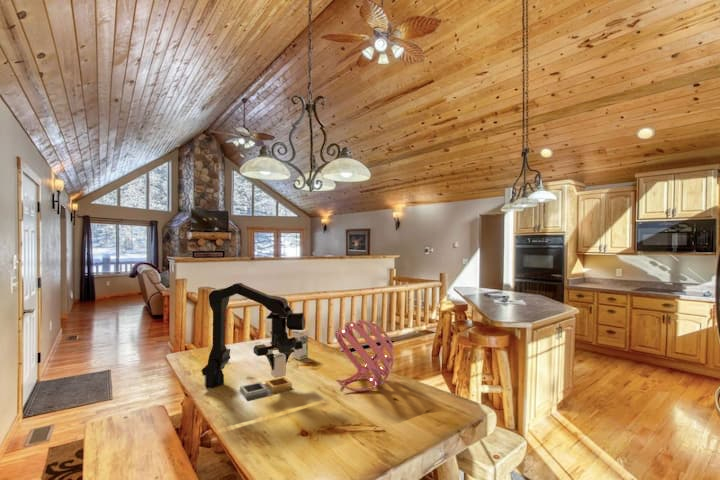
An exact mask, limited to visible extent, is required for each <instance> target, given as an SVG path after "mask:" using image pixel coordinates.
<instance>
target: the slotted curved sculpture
mask: <svg viewBox="0 0 720 480" xmlns="http://www.w3.org/2000/svg"><path fill="white" fill-rule="evenodd" d="M364 325H365V326H366V327H367V328H368V329H369V330H370V331H371V333H372V335H373V337H375V339H376V340H377V342H379V344H380V346H379V345H378V344H377V343H376V342H375V340H374V339H373V338H372V336H370V334H369V333H368V332H367V331H366V330H365V327H364ZM352 329H353V330H354V331H356V333H358V335H360V336H361V337H362V338H363V339H364V341H365V343H366V344H367V345H368V346H369V348H370V349H371V350H372V351H373V352H374V355H373V356H370V354H369V353H368V352H367V351H366V349H365V348H364V347H363V346H362V344H361V343H360V341H359V340H358V339H357V337H356V335H355V334H354V332H353V330H352ZM378 330H379V331H380V332H379V331H378ZM382 334H383V335H382ZM334 337H335V339H336V341H337V343H338V345H339V347H340V348H341V349H342V351H343V353H344V354H345V355H346V357H347V358H348V359H349V361H350V362H351V363H352V364H353V365H354V367H355V368H356V369H357V372H356V373H355V374H353V375H352V376H350V377H348V378H345V379H336V380H335V381H336V382H337V383H338V384H339V385H340V386H341V387H343V389H346V390H349V391H351V392H352V391H353V392H360V393H363V392H369V391H371V390H375V389H376V388H378V387H379V386H381V385H382V384H383V383H384V382H385V381H386V380H387V379H388V377H389V376H390V374H391V372H392V370H393V367H394V363H395V351H394V344H393V342H392V339H391V338H390V336H389V335H388V334H387V333H386V331H385V330H384V329H383V328H382V327H381V326H380V325H379V324H377V323H375V322H373V321H367V320H365V319H358V320H357V319H356V322H354V321H347V322H346V323H344V328H342V327H338V328H337V329H336V330H335V331H334ZM344 339H345V340H346V341H347V342H348V344H349V345H350V346H351V347H352V348H353V349H354V350H355V352H356V353H357V354H358V355H359V356H360V358H361V359H362V361H364V363H365V365H362V364H361V363H360V361H359V360H358V359H357V358H356V357H355V355H354V354H353V353H352V351H351V350H350V349H349V347H348V345H347V344H346V342H345V340H344ZM386 339H387V340H386ZM384 348H385V349H386V351H387V352H388V354H389V356H388V355H387V354H385V353H384V351H383V350H384ZM378 360H380V362H381V363H382V365H383V367H384V368H383V367H382V365H379V363H378ZM370 371H371V373H372V375H371V373H370ZM382 376H383V377H382ZM361 377H363V378H365V379H366V380H367V381H369V383H371V385H372V386H371V387H367V388H354V387H350V386H347V385H345V384H348V383H351V382H354V381H357V380H358V379H359V378H361Z"/></svg>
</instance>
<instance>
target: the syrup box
mask: <svg viewBox="0 0 720 480" xmlns="http://www.w3.org/2000/svg"><path fill="white" fill-rule="evenodd" d="M291 338H295V339H298V340H299V341H301V342H302V344H303V348H302V349H297V350H296V349H295V348H293V350H295V351H294V352H292V353H291V357H292V359H293V360H298V361H301V360H303V359H306V358H308V357H309V354H308V352H309V351H308V350H309V349H308V347H309V346H308V342H309V341H308V339H309V338H308V329H307V328H304V330H291Z"/></svg>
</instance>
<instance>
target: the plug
mask: <svg viewBox="0 0 720 480" xmlns="http://www.w3.org/2000/svg"><path fill="white" fill-rule="evenodd" d="M273 354H274V357H273V359H274V370H272V369H271V368H270V369H271V372H270V376H272V377H273V379H276V378H281V377H286V375H287V363H286V355H284V354H283V353H279V352H278V353H273Z"/></svg>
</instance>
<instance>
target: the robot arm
mask: <svg viewBox="0 0 720 480" xmlns="http://www.w3.org/2000/svg"><path fill="white" fill-rule="evenodd" d="M235 295H238V296H239V295H240V296H241V297H244V298H246V299H249V300H251V301H253V302H256V303H259V304H260V305H262V306H264V307H265V308H266V310H268V311H269V312H270V313H269V314H268V315H267V316H266V317H265V318H266V319H269V320H271V331H270V335H271V338H270V339H271V341H270V342H269V343H270V345H268V346H267V345H266V344H256V345H254V347H253V353H254V354H255V355H256V356H258V357H262V356H265V357H266V358H267V360H268V363H269V366H270V369H272V370H274V359H273V357H274V354H275V353H273V351H278V353H283V354H284V355H286V364H287V363H288V361H289V358H290V355H292V352H294V351H295V350H293V348H295V349H296V350H297V349H302V348H303V344H302V342H301V341H299V340H298V339H295V338H292V337H290V338H289V336H288V332H287V329H288V330H289V331H292V330H304V329H306V328H305V327H306V317H305V313H304V312H293V310H292V309H291V307H290V306H289V303H288V300H287V299H286V298H285V297H283V296H282V297H281V296H278V295H270V294H266V293H264V292H262V291H260V290H257V289H255V288H253V287H250V286H248V285H245V284H244V283H242V282H236V283H234V284H232V285H230V286H227V287H225V288H224V287H222V288H219V289H218V288H217V289H214V290H212V291H210V293H209V294H208V303H209V307H210V309H211V310H212V347H211V349H210V353H209V355H208V359H207V364H206V365H205V366H204V367H203V368H202V369H201V374H202V376H204V387H205V388H206V389H207V388H217V387H220V386H222V385H224V383H225V374H224V373H223V369H224V368H225V366H226V365H227V364H229V361H230V359H231V356H230V355H231V349H230V348H227V347H226V310H227V307H228V305H229V303H230V302H229V301H230V297H232V296H235Z"/></svg>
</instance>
